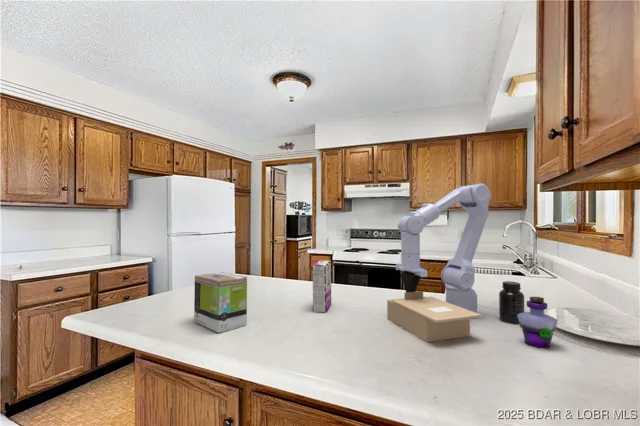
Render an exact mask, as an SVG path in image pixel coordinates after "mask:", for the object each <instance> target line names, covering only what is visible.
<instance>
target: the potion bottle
mask: <svg viewBox="0 0 640 426" xmlns="http://www.w3.org/2000/svg"><path fill="white" fill-rule="evenodd" d="M544 300H545V298H544V297H542V296H530V297H529V300H527V301H526V307H527V308H529V311H526V312H525V311H524V312H522V313H520V314H518V315H517V316H518V320H519V324H518V325H519V327H520V329H521V331H522V335H523V339H524V343H525V344H526V345H527V346H530V347H533V348H536V349H547V350H548V349H550V348H551V347H552V345H551V343H552V339H553V337H554V332H556V328H557V325H558V322H559V321H558V319H557V318H555V317H553V316H551V315H549V314H545V310H547V309H548V303H547V302H545V301H544Z"/></svg>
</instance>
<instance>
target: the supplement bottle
mask: <svg viewBox="0 0 640 426" xmlns="http://www.w3.org/2000/svg"><path fill="white" fill-rule="evenodd" d="M521 290H522V288H521V283H520V282H518V281H510V280H509V281H508V280H507V281H502V289H501V290H499V293H498V311H499V312H498V313H499V314H498V316H499V319H500V321H502V322H503V323H507V324H511V325H520V324H519V320H518V316H517V315H518V314H520V313H522V312H525V294H524V292H522V291H521Z"/></svg>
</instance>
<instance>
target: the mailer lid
mask: <svg viewBox="0 0 640 426" xmlns="http://www.w3.org/2000/svg"><path fill="white" fill-rule="evenodd" d="M404 298H405V299H404ZM404 298H400V299H401V300H393V299H392V300H393V303H395V304H397V305H399V306H401V307H404V308H406V309H408V310H410V311H412V312H414V313H416V314H418V315H420V316H422V317H425V318H427V319H429V320H431V321H433V322H435V323H439V322H447V321H455V320H464V319H470V320H471V319H478V318H480V319H481V318H482V314H480V313H478V312H477V313H475V312H472V311H469V310H467V309H464V308H461V307H458V306H456V305H453V304H450V303H448V302H446V300H445V301H444V300H441V299H439V298H437V297H433V296H424V291H422V290H416V291H414V292H406V291H405V292H404Z"/></svg>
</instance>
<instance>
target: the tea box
mask: <svg viewBox="0 0 640 426" xmlns="http://www.w3.org/2000/svg"><path fill="white" fill-rule="evenodd" d="M193 304H194V307H193V308H194V309H193V317H194V318H193V321H194V323H196V324H199V325H201V326H202V327H205V328H207V329H209V330H211V331H213V332H216V333H218V334H219V333H224V332H227V331H231V330H234V329H238V328H242V327H245V326H247V325H248V323H247V321H248V320H247V319H248V313H247V312H248V309H247V308H248V277H247V276H243V275H239V274H233V273H228V272H220V271H219V272H214V273H205V274H198V275H197V274H196V275H194V302H193Z"/></svg>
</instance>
